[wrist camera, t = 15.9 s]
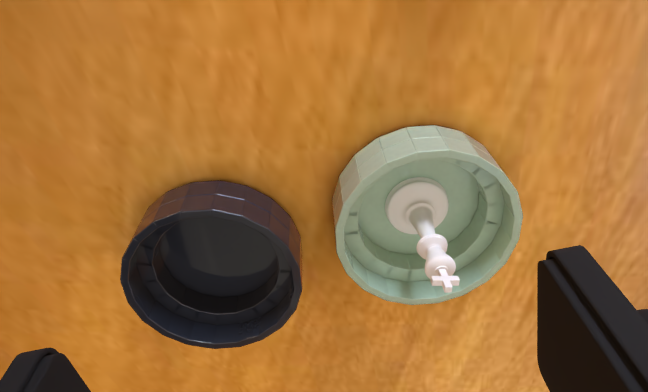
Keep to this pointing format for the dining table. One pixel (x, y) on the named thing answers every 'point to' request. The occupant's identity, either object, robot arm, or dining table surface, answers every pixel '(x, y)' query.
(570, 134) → the dining table surface
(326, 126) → the dining table surface
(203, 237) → the dark bowl
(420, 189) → the chess piece
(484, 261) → the green bowl
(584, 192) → the dining table surface
